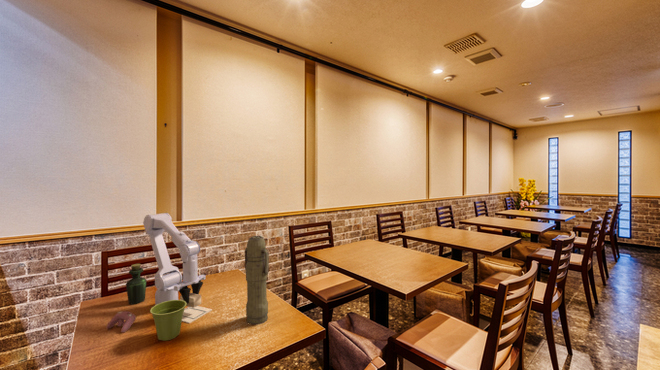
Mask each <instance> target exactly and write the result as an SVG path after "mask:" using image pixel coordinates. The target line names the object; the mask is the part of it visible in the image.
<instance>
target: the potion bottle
mask: <svg viewBox="0 0 660 370" xmlns="http://www.w3.org/2000/svg"><path fill="white" fill-rule="evenodd" d="M141 266H142V264H141V263H135V264H131V266H130V267H131V269H130V270H129V271H128V274H129V275H131V277H132V278H131V279H129V280H128V281H127V282H126V284H125V288H126V294H127V296H126V297H127V301H128V304H129V305H137V304H138V305H139V304H142V303H143V302H144V301H145V300H146V290H147V279H146V278H144V277H141V275H142V274H141V273H143V272H144V268H142V267H141Z"/></svg>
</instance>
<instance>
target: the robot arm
mask: <svg viewBox="0 0 660 370" xmlns="http://www.w3.org/2000/svg"><path fill="white" fill-rule="evenodd" d="M172 220H173V218H172V216H171V215H170V214H169V213H168V212H163V213H156V214H147V215H145V216H144V218H143V221H142V223H143V224H142V225H143V227H144V231H145V234H146V235H148V237H149V241H150V244H151V247H152V250H153V254H154V257H155V260H156V263H157V267H158V271H157V272H156V273H155V274H154V275H153V276H154V285H155V286H154V287H155V288H156V291H155V294H154V299H155V300H154V302H155V304H154V306H155V305H157V304H159V303H162V302H165V301H170V300H179V293H180V296H181V295H182V298H183V300H184V301H185V302H186V303H187V304H188V303H189V295H190V293H195V294H200V291H201V288H202V286H203V285H204V281H202V280H206V278H207V277H206V274H200V275H198V273H199V272H198V271H199V270H198V266H199V265H198V254H200V252H201V245H200V244H199V242H198V241H194V240H192V239H190V238H189V237H188V235H187V234H186V233H185V232H184V231H179V230H178V228H177V227H176V226H175V224H174V223H173V221H172ZM164 232H166V233H167V234H169V236H170V237H171V241H172V243H173V244H174V245H175V246H176V248H178V249H179V250H178V252H179V255H180V258H181V259H180V260H181V262H182V273H181V271H180V270H179V267H177V266H174V265H173V264H172V261H171V259H170V255H169V252H168V249H167V245H166V243H165V239H164V237H163V233H164ZM189 286H191V287H189ZM191 291H192V292H191Z"/></svg>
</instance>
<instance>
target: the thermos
mask: <svg viewBox="0 0 660 370" xmlns="http://www.w3.org/2000/svg"><path fill="white" fill-rule="evenodd" d="M266 244H267V243H266V241H265V238H264V237H263V236H262V235H253V236H250V237H249V238H248V241H247V244H246V247H245V248H244V270H245V280H246V284H247V285H246V290H247V291H246V294H247V295H246V296H247V298H246V299H247V300H246V305H245V315H246V323H247V324H248V325H251V326H252V325H254V326H257V325H261V324H264V323H265V322H267V321H268V319H269V318H268V314H269V302H268V299H267V279H268V274H269V269H270V261H269V259H270V257H269V256H270V254H269V251H268V249H267V248H266Z"/></svg>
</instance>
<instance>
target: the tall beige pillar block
mask: <svg viewBox="0 0 660 370" xmlns="http://www.w3.org/2000/svg"><path fill="white" fill-rule="evenodd" d="M179 297H180V298H179V300H183V298H182V295H181V294H180V296H179ZM183 301H184V300H183ZM201 305H202V294H200V293H199V294H195V293H192V292H190V295H189V303H188V304H186V306H185V307H192V308H195V307H196V306H201Z"/></svg>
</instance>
